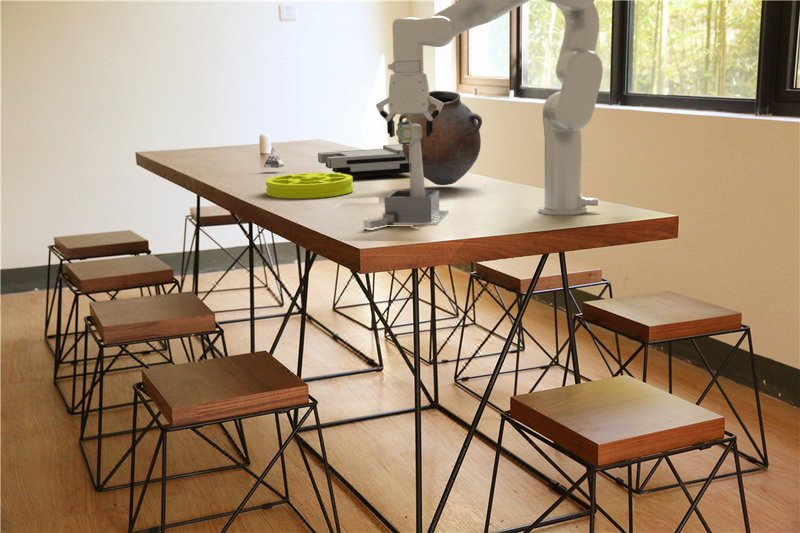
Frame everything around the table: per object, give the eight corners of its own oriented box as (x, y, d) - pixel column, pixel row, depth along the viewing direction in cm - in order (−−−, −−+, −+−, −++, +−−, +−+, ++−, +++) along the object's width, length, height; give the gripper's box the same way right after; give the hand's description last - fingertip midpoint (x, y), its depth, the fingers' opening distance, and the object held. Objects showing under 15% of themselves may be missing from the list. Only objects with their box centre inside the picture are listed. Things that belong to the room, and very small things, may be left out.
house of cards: (294, 165, 374) (293, 146, 372) (282, 168, 367) (281, 148, 365) (276, 164, 378) (274, 145, 376) (263, 167, 371) (262, 147, 369)
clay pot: (402, 192, 295) (399, 94, 288) (400, 181, 319) (397, 90, 312) (485, 189, 295) (484, 91, 288) (477, 178, 320) (475, 88, 313)
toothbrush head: (430, 216, 246) (427, 119, 241) (407, 219, 244) (404, 121, 238) (421, 213, 251) (418, 118, 245) (398, 216, 248) (395, 120, 243)
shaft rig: (452, 210, 260) (451, 185, 259) (433, 231, 232) (432, 203, 230) (389, 210, 264) (388, 185, 262) (362, 230, 236) (361, 203, 234)
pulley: (344, 183, 322) (343, 168, 321) (360, 194, 296) (360, 178, 294) (262, 188, 316) (261, 173, 314) (271, 200, 289) (270, 184, 288)
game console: (318, 171, 353) (317, 149, 351) (401, 166, 362) (400, 144, 360) (331, 178, 334) (330, 155, 332) (417, 172, 342) (417, 149, 340)
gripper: (371, 69, 237) (374, 138, 241) (439, 67, 233) (441, 137, 237) (378, 68, 244) (381, 135, 248) (444, 67, 241) (446, 134, 245)
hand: (410, 136), depth 243 cm, fingers open, 9 cm apart
